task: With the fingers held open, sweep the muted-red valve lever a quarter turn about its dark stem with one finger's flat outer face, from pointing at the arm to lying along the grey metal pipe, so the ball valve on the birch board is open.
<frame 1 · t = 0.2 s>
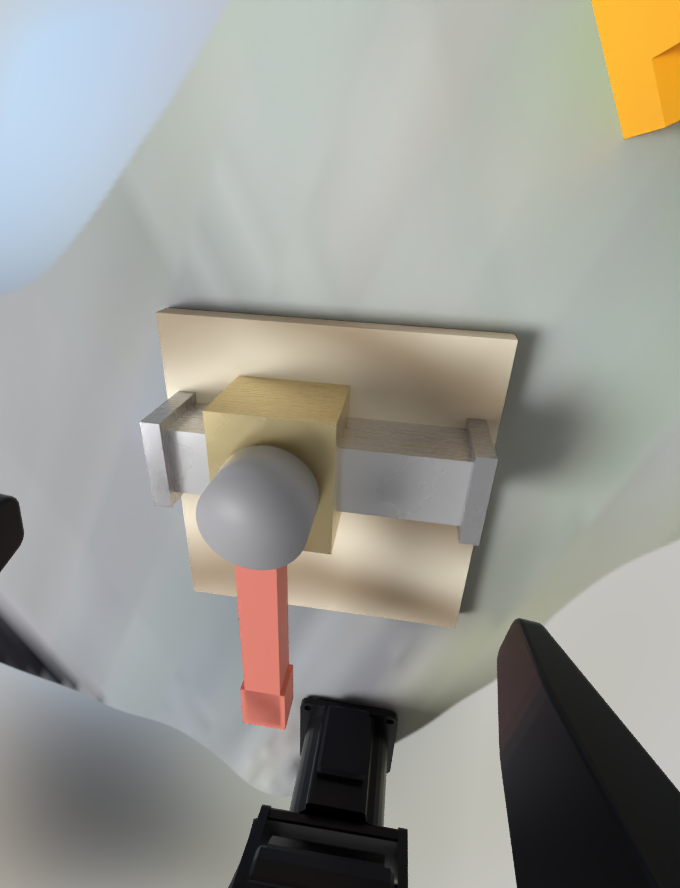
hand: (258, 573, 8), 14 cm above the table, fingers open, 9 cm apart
board: (327, 479, 24), on the table
valve body: (298, 432, 23), resting on board
lever: (264, 603, 20), point 6 cm above the table, hinge at 0.0°
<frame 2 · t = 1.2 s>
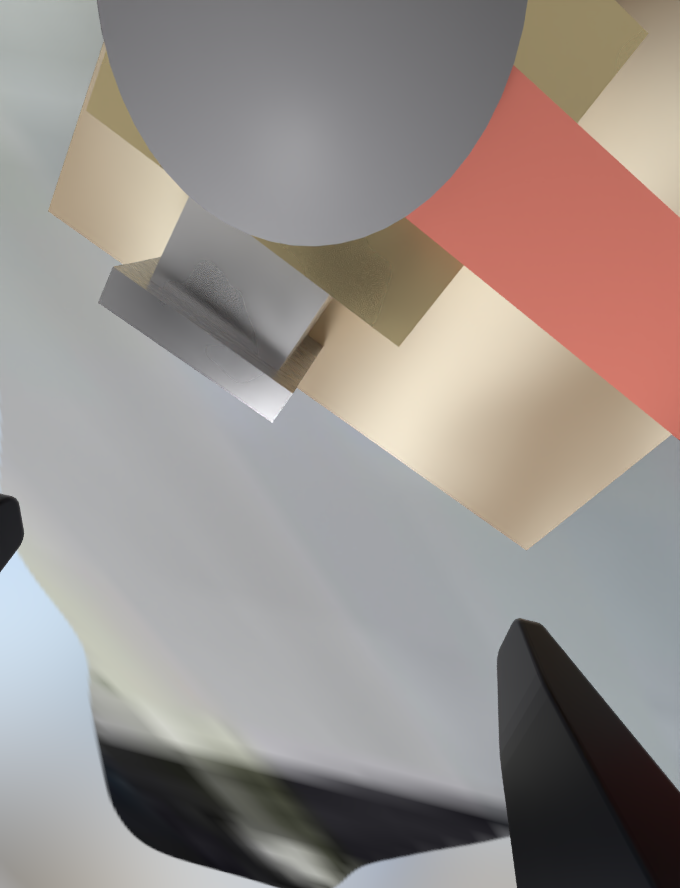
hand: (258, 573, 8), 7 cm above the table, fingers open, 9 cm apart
board: (499, 135, 11), on the table
valve body: (370, 127, 11), resting on board
lever: (631, 309, 6), point 6 cm above the table, hinge at 0.0°
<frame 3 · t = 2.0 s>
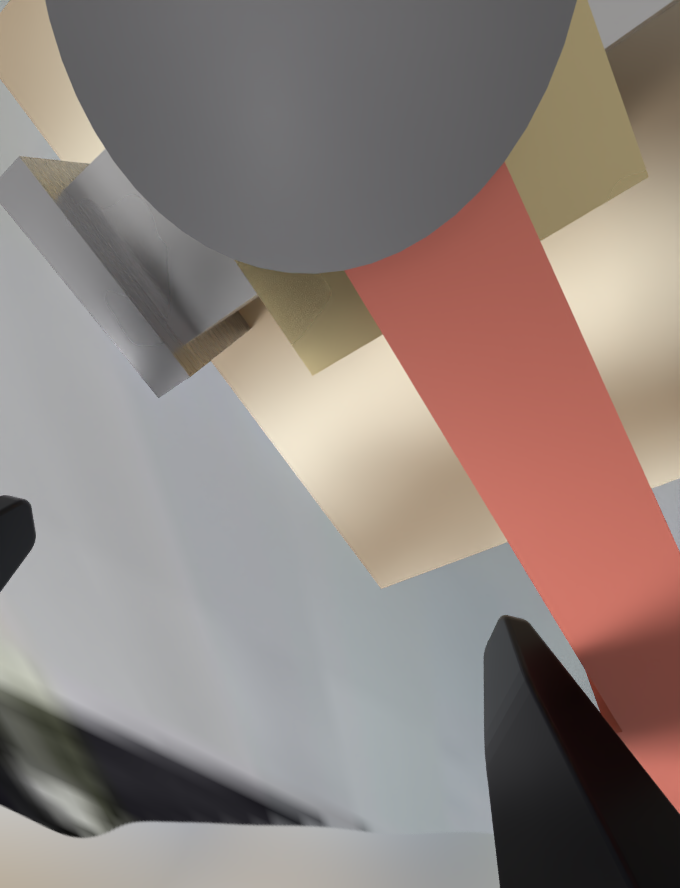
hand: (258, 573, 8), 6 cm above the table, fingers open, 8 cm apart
board: (493, 192, 10), on the table
valve body: (375, 124, 10), resting on board
lever: (535, 438, 6), point 6 cm above the table, hinge at 0.3°, touching gripper
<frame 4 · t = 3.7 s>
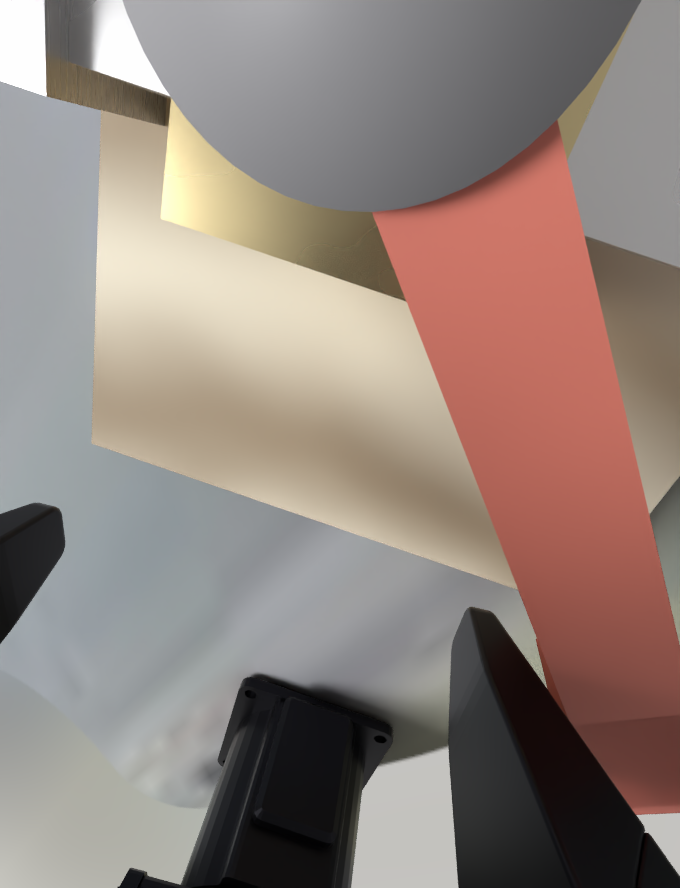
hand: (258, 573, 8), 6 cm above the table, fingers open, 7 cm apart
board: (433, 241, 11), on the table
valve body: (410, 91, 10), resting on board
lever: (533, 425, 6), point 6 cm above the table, hinge at 41.4°, touching gripper
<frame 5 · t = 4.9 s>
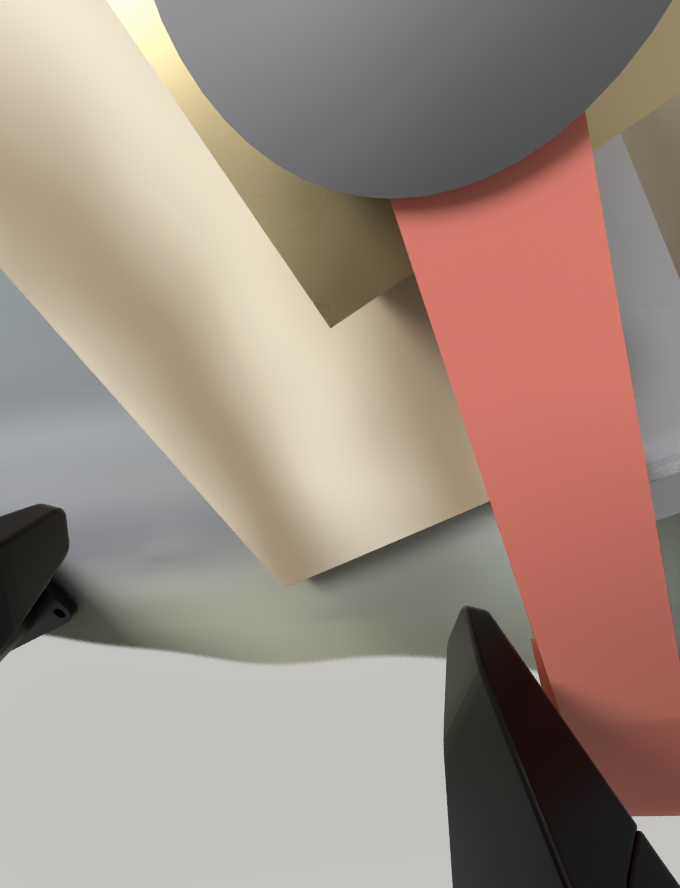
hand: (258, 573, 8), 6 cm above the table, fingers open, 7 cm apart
board: (363, 226, 11), on the table
valve body: (424, 82, 10), resting on board
lever: (541, 424, 6), point 6 cm above the table, hinge at 77.8°, touching gripper
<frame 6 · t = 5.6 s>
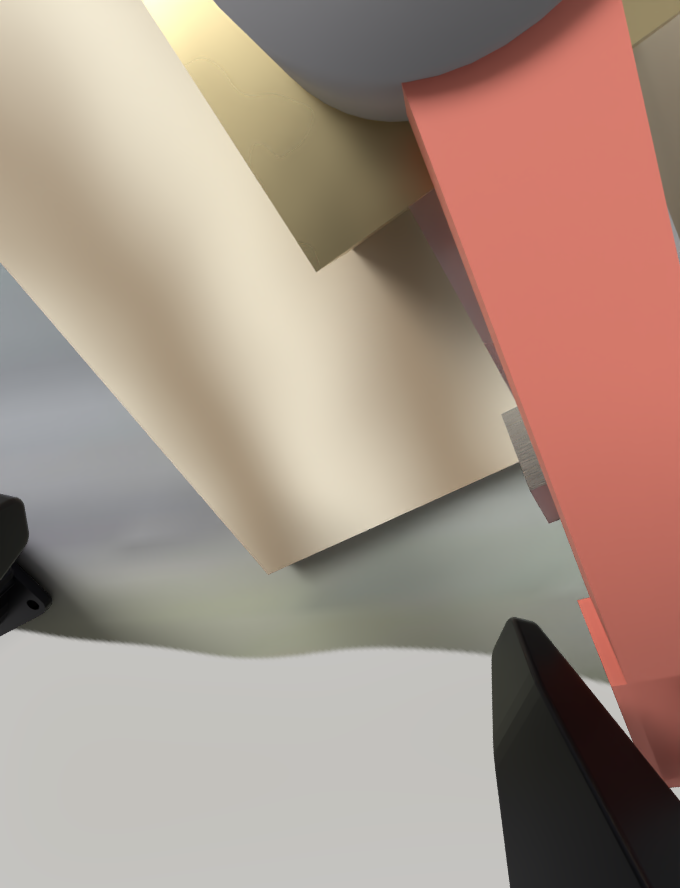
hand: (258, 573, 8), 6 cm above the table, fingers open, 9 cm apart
board: (352, 193, 11), on the table
valve body: (415, 42, 9), resting on board
lever: (576, 345, 5), point 6 cm above the table, hinge at 83.0°, touching gripper
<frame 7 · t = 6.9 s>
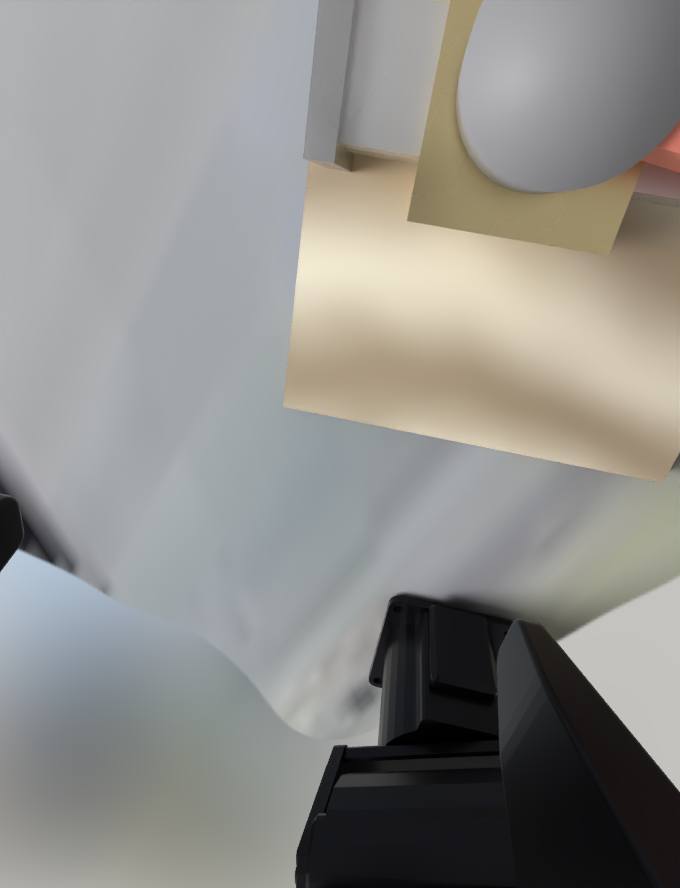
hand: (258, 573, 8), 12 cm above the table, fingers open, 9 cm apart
board: (531, 221, 16), on the table
valve body: (509, 125, 15), resting on board
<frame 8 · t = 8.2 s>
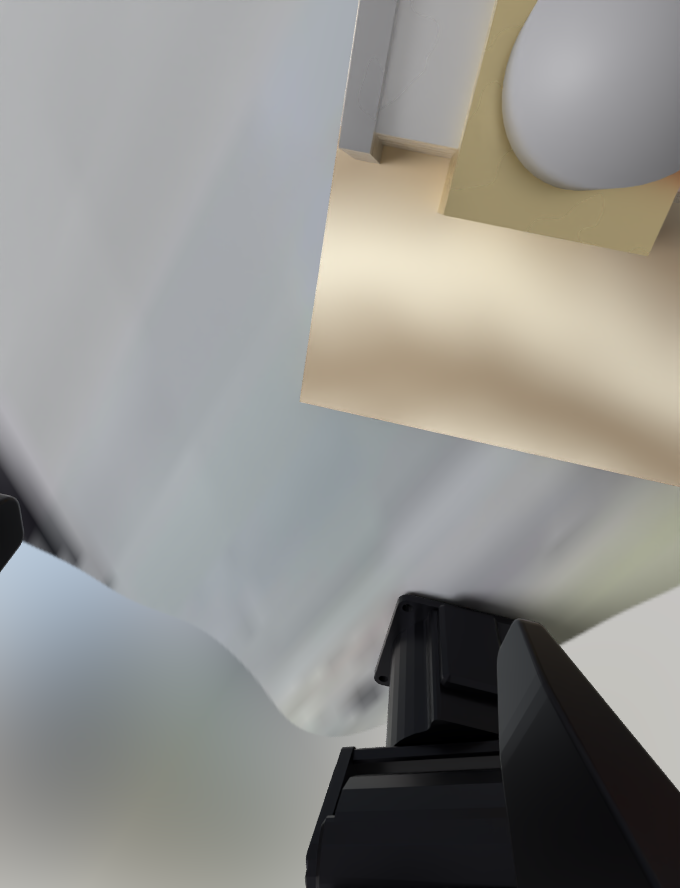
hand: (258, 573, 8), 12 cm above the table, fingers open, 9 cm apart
board: (559, 219, 16), on the table
valve body: (542, 120, 15), resting on board
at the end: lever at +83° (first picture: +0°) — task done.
